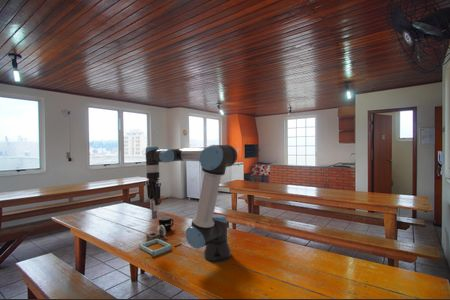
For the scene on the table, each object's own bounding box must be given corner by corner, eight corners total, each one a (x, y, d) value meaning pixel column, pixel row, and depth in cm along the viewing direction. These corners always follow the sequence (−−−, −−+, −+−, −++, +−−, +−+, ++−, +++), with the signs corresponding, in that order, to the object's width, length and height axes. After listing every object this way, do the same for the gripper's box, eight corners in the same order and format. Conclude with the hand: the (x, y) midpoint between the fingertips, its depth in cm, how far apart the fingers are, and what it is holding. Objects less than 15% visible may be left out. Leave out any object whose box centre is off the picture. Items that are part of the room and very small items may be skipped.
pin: (158, 218, 154) (157, 198, 153) (153, 219, 151) (153, 199, 151) (155, 217, 156) (154, 197, 155) (151, 218, 154) (150, 198, 153)
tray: (171, 249, 153) (171, 244, 153) (153, 256, 144) (153, 251, 144) (157, 243, 163) (157, 238, 163) (139, 249, 154) (139, 244, 154)
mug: (164, 234, 178) (163, 220, 178) (156, 232, 184) (156, 218, 184) (177, 230, 187) (177, 216, 187) (169, 227, 193) (169, 214, 193)
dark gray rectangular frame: (181, 244, 160) (181, 243, 160) (176, 247, 156) (176, 246, 156) (166, 240, 168) (166, 239, 168) (160, 242, 164) (160, 242, 164)
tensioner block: (166, 238, 170) (166, 225, 170) (151, 244, 161) (150, 230, 161) (160, 236, 176) (159, 223, 175) (144, 241, 167) (144, 228, 167)
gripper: (165, 171, 150) (167, 210, 151) (151, 170, 161) (152, 206, 162) (154, 173, 145) (156, 213, 145) (140, 171, 156) (142, 209, 156)
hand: (154, 210), depth 153 cm, fingers closed on pin, 3 cm apart
